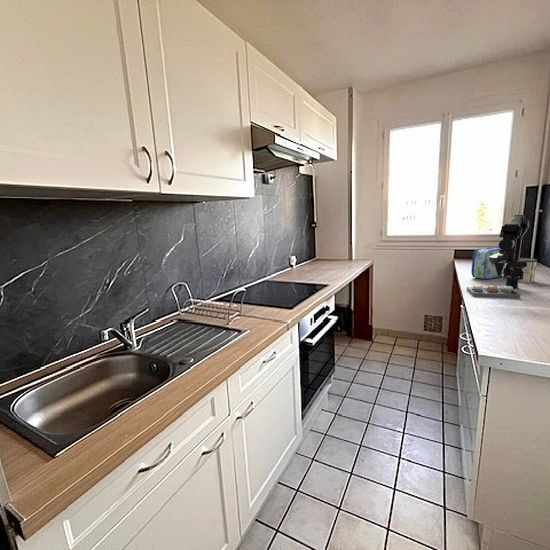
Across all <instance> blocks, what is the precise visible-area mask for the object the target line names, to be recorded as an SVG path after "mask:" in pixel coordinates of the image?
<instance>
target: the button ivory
mask: <svg viewBox="0 0 550 550" xmlns="http://www.w3.org/2000/svg"><path fill="white" fill-rule="evenodd" d="M472 287H473V288H474V290H473V291H481V289H482V287H483V285H480V284H473V285H472Z"/></svg>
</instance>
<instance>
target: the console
mask: <svg viewBox="0 0 550 550" xmlns="http://www.w3.org/2000/svg"><path fill="white" fill-rule="evenodd" d="M473 290H474V288H473V286H466V292H468V293H469V294H470V295H471V297H473V298H492V299H494V298H496V299H515V300H516V299H518V300H520V299H521V297H522V296H521V294H520V293H518V292H517V291H515V290H514V289H513V290H512V292H503V287H498V288H497V290H496V292H488V287H487V286H486V287H482V289H481V291H473Z"/></svg>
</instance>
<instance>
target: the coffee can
mask: <svg viewBox="0 0 550 550" xmlns="http://www.w3.org/2000/svg"><path fill="white" fill-rule="evenodd" d="M519 260H522V261H526V262H527V267H524V268H522V270H523V272H524V276H523V280H519V281H518V283H534V282H535V277H536V271H537V270H536V268H537V263H538V259H536V258H530V257H519Z"/></svg>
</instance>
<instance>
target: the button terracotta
mask: <svg viewBox="0 0 550 550" xmlns="http://www.w3.org/2000/svg"><path fill="white" fill-rule="evenodd" d="M487 288H488V292H496V290H497V288H499V287H498V286H496V285H492V284H491V285H487Z"/></svg>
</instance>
